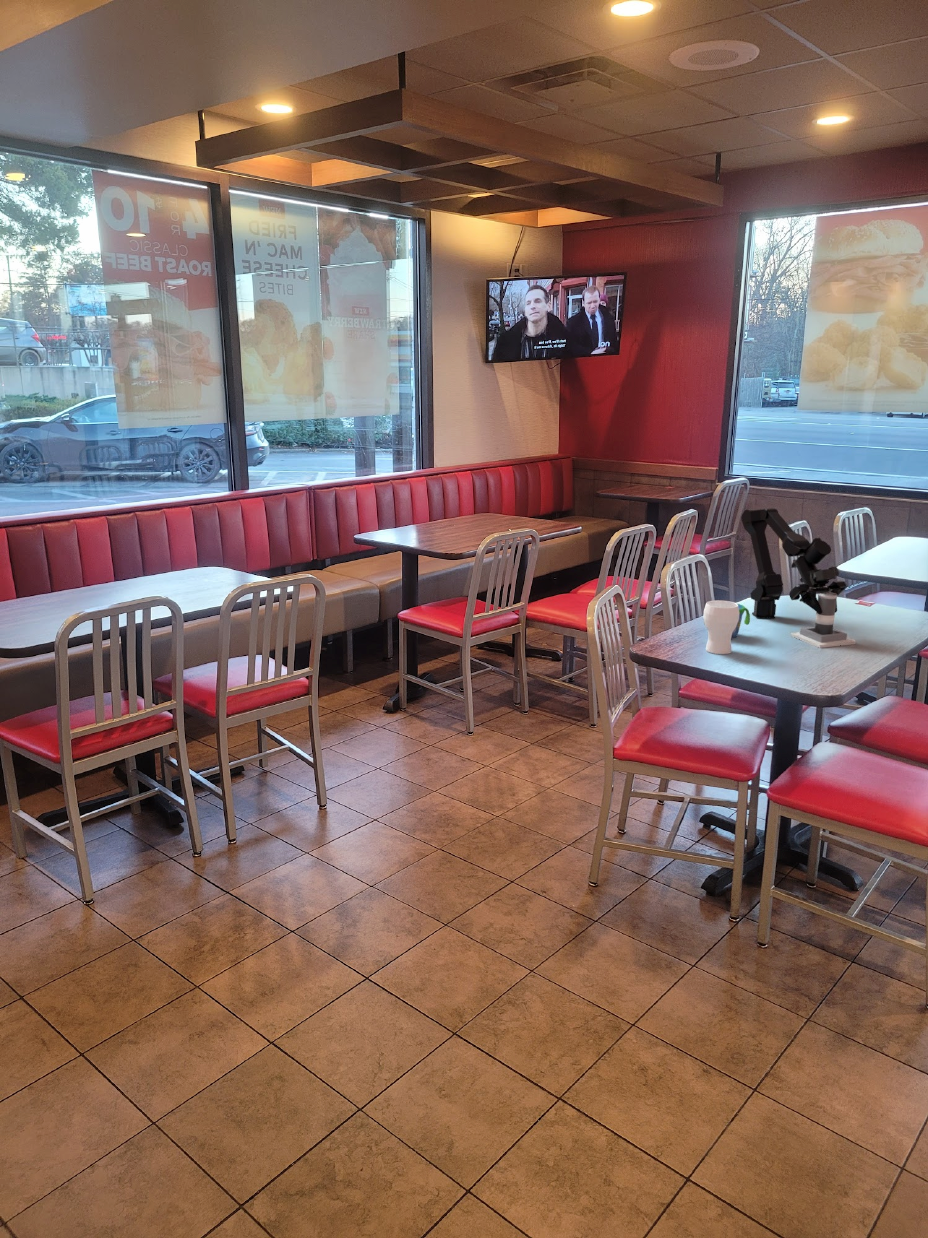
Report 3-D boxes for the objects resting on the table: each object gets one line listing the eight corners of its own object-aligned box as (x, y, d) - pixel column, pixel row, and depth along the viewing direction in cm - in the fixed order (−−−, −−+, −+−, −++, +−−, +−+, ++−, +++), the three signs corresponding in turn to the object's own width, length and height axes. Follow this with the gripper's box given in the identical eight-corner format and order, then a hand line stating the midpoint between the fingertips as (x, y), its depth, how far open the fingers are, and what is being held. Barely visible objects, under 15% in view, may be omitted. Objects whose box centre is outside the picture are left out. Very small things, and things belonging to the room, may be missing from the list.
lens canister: (812, 633, 290) (816, 594, 286) (815, 629, 294) (820, 591, 291) (830, 636, 287) (835, 596, 283) (833, 632, 292) (838, 593, 288)
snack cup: (741, 630, 302) (743, 600, 300) (755, 639, 292) (758, 608, 290) (697, 631, 300) (699, 602, 298) (709, 640, 290) (711, 610, 288)
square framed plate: (790, 636, 295) (791, 627, 295) (825, 632, 300) (826, 623, 299) (819, 648, 283) (820, 638, 282) (855, 643, 287) (856, 634, 286)
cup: (712, 657, 274) (715, 609, 270) (694, 647, 283) (697, 601, 279) (742, 654, 276) (747, 607, 272) (724, 644, 286) (728, 598, 282)
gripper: (798, 560, 285) (818, 602, 278) (846, 556, 291) (867, 597, 284) (780, 578, 294) (799, 620, 287) (827, 575, 300) (846, 615, 293)
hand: (828, 612), depth 288 cm, fingers closed on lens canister, 5 cm apart
